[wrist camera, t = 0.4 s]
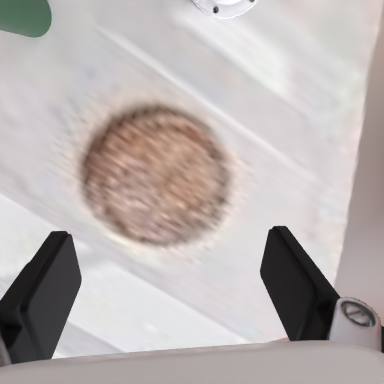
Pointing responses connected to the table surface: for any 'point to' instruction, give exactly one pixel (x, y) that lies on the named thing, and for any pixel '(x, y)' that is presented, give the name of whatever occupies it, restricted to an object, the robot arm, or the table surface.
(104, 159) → the table surface
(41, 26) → the bottle
